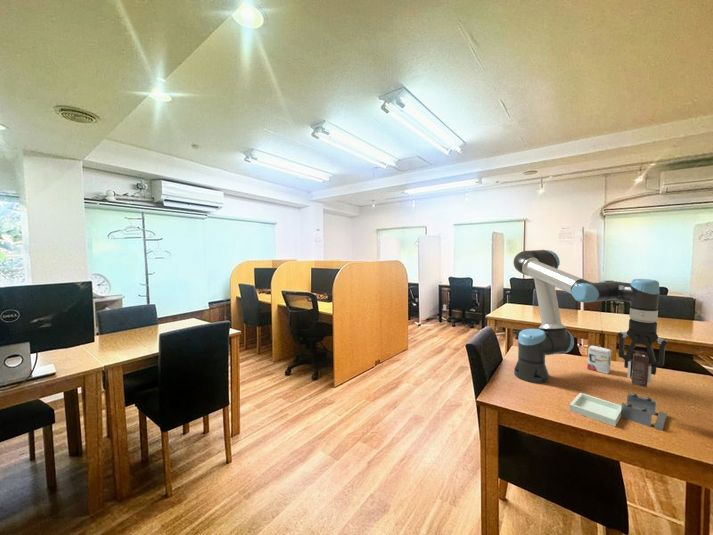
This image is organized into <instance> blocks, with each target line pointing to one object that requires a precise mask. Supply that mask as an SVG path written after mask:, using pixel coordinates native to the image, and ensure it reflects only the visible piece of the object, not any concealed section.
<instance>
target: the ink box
mask: <svg viewBox="0 0 713 535" xmlns="http://www.w3.org/2000/svg"><path fill="white" fill-rule="evenodd" d="M611 360H612V350H611V349H609V348H606V347H605V348H604V347H601V346H596V345H590V346H589V347H588V351H587V369H588V370H591V371H595V372H599V373H603V374H609V373H610V371H611Z"/></svg>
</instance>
